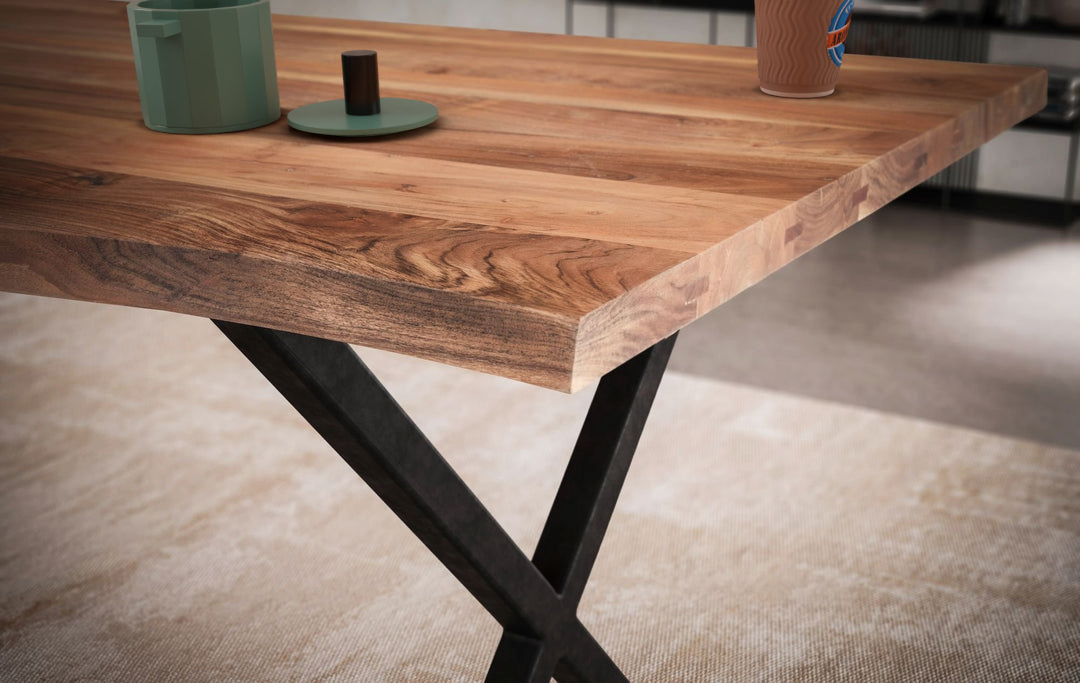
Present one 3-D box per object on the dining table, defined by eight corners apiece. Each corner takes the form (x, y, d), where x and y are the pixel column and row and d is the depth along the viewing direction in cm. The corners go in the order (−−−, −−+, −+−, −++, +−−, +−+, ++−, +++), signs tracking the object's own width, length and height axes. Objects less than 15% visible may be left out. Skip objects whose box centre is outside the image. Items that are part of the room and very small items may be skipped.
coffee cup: (848, 104, 106) (862, -35, 101) (734, 98, 108) (742, -37, 104) (855, 83, 115) (868, -45, 110) (750, 78, 117) (758, -47, 113)
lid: (262, 139, 95) (254, 63, 93) (322, 107, 107) (316, 39, 104) (412, 145, 93) (407, 68, 90) (456, 111, 104) (454, 42, 102)
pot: (101, 138, 96) (81, 13, 92) (199, 97, 111) (185, -11, 107) (230, 144, 94) (216, 16, 90) (312, 101, 109) (303, -10, 105)
